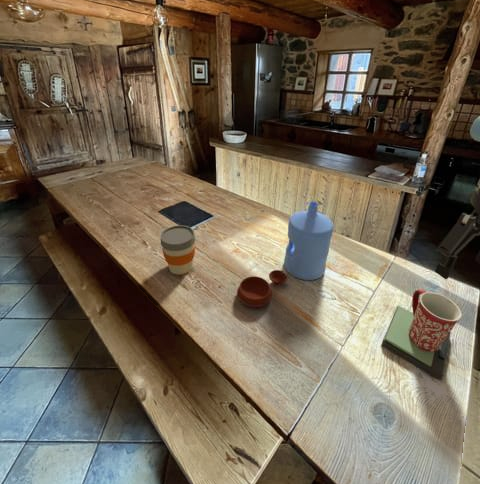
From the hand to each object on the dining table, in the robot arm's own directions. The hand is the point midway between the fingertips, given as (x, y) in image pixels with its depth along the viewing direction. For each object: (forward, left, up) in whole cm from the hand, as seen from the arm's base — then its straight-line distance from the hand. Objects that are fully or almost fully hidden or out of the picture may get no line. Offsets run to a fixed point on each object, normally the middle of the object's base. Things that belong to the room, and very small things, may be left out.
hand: (461, 269), depth 65 cm
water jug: (+18, -38, -27) cm, 50 cm away
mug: (+3, -1, -24) cm, 24 cm away
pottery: (+38, -31, -27) cm, 56 cm away
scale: (+3, -1, -27) cm, 27 cm away
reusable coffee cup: (+65, -52, -27) cm, 87 cm away
